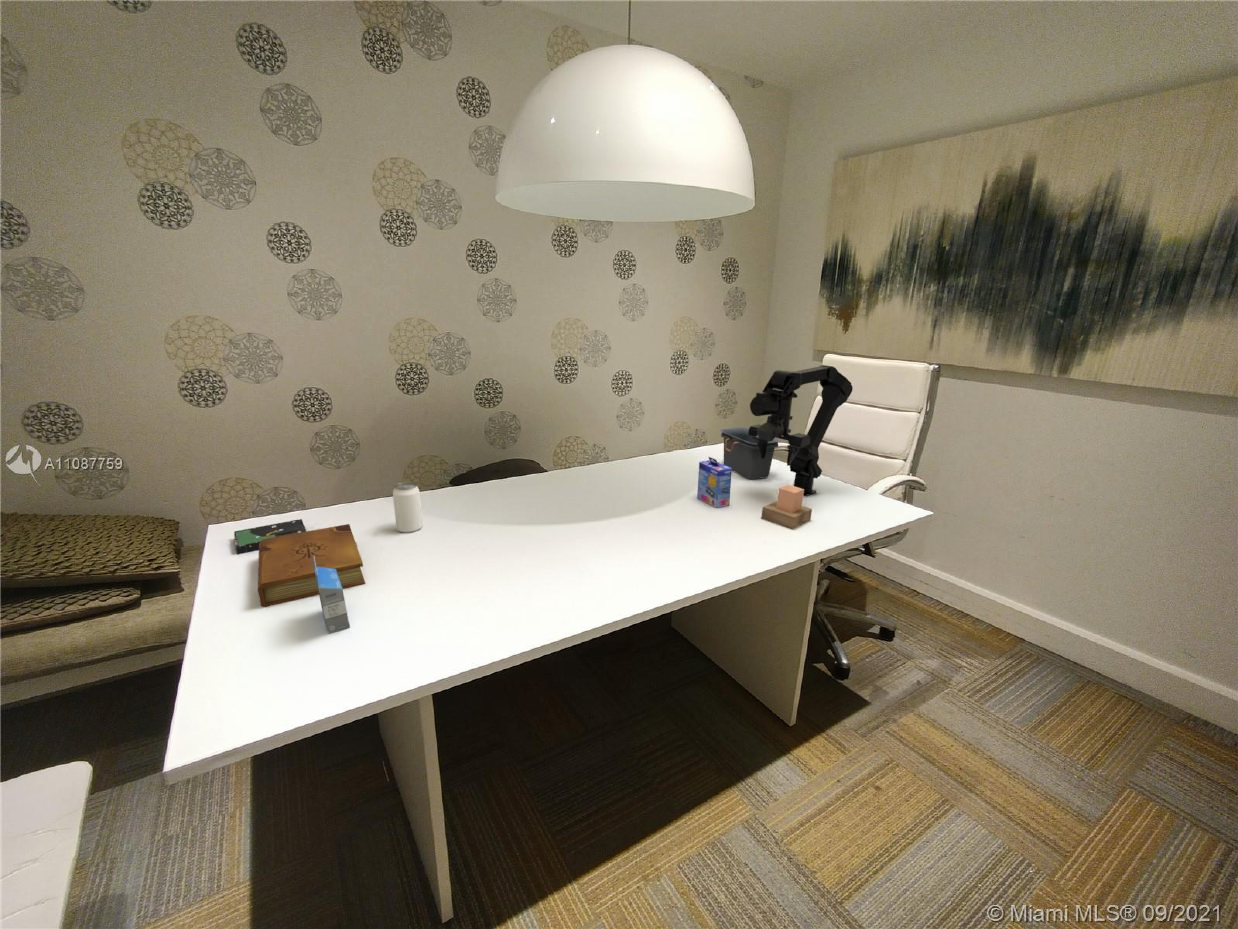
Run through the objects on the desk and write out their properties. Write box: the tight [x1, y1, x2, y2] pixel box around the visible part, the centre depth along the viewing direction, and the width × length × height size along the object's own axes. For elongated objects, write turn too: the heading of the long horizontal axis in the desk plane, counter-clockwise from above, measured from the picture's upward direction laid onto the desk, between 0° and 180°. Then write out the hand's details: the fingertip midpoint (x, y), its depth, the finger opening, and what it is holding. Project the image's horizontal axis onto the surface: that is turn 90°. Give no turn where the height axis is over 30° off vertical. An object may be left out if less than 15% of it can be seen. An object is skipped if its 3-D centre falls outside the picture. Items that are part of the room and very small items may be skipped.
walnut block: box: [760, 500, 813, 530], centre depth 154 cm, size 10×10×4 cm
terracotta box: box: [776, 484, 804, 513], centre depth 152 cm, size 5×5×6 cm
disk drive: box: [233, 518, 307, 555], centre depth 133 cm, size 10×3×15 cm
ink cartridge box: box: [696, 456, 733, 509], centre depth 164 cm, size 10×6×14 cm, turn 30°
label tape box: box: [314, 555, 351, 634], centre depth 100 cm, size 9×4×12 cm, turn 33°
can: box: [392, 481, 423, 534], centre depth 140 cm, size 6×6×12 cm
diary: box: [257, 523, 366, 608], centre depth 118 cm, size 23×19×6 cm
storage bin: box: [720, 426, 781, 480], centre depth 194 cm, size 21×16×14 cm
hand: (775, 461), depth 167 cm, fingers open, 9 cm apart
